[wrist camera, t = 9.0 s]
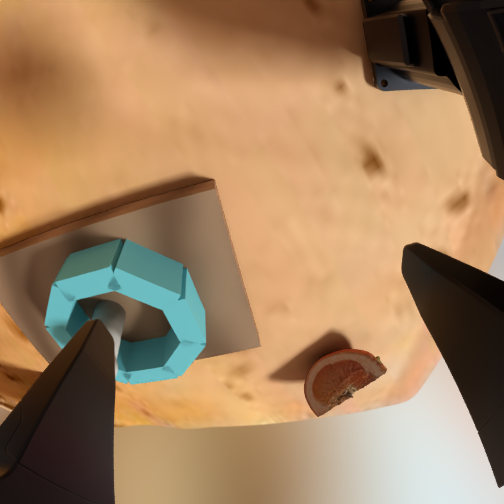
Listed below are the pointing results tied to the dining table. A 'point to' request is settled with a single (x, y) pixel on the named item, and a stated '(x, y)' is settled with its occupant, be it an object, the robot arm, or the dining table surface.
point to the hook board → (149, 236)
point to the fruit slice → (340, 378)
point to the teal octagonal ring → (137, 287)
